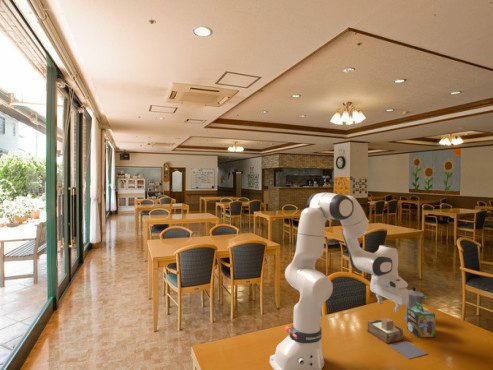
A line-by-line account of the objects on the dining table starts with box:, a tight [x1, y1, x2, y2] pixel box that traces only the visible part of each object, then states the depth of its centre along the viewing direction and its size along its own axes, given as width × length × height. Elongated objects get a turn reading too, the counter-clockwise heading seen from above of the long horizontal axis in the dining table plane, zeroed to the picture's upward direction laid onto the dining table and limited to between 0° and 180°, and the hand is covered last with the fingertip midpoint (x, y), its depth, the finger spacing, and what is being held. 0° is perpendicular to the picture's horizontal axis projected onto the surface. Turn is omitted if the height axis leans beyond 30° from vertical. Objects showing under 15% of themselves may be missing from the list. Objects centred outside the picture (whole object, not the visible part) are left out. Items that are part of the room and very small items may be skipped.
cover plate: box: [372, 317, 400, 334], centre depth 143 cm, size 9×10×5 cm
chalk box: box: [406, 302, 437, 339], centre depth 146 cm, size 9×9×15 cm
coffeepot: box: [403, 286, 427, 322], centre depth 160 cm, size 15×9×18 cm, turn 29°
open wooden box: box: [367, 318, 404, 345], centre depth 143 cm, size 10×12×5 cm
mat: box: [387, 340, 429, 360], centre depth 131 cm, size 11×11×1 cm
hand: (388, 307), depth 142 cm, fingers open, 8 cm apart
